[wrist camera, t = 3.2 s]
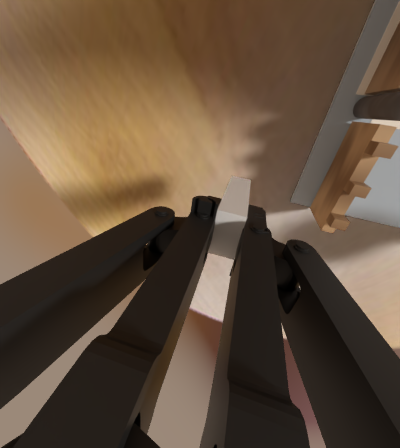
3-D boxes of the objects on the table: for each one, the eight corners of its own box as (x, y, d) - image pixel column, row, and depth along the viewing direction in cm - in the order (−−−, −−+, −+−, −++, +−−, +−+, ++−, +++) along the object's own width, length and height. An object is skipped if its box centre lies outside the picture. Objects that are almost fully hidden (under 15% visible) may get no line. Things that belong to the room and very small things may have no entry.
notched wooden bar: (351, 121, 17) (389, 125, 12) (365, 123, 17) (409, 128, 12) (309, 207, 21) (324, 237, 16) (320, 210, 21) (338, 241, 16)
